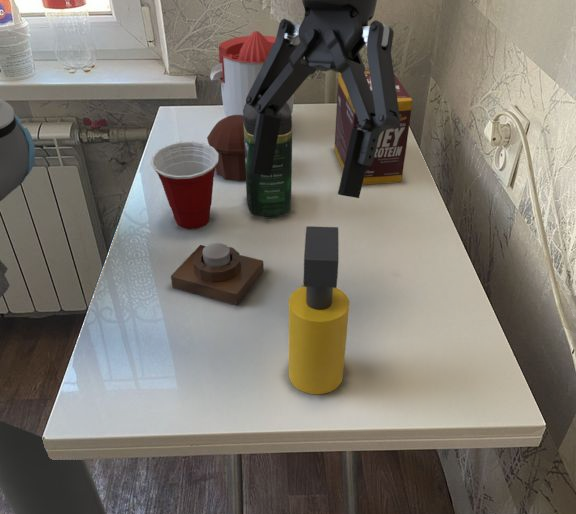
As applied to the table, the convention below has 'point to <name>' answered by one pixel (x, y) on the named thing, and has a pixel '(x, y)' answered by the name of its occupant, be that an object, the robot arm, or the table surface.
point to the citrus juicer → (241, 69)
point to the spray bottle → (318, 317)
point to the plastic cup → (187, 180)
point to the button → (216, 255)
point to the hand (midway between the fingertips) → (301, 185)
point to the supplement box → (390, 141)
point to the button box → (218, 277)
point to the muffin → (229, 147)
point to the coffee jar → (276, 188)
